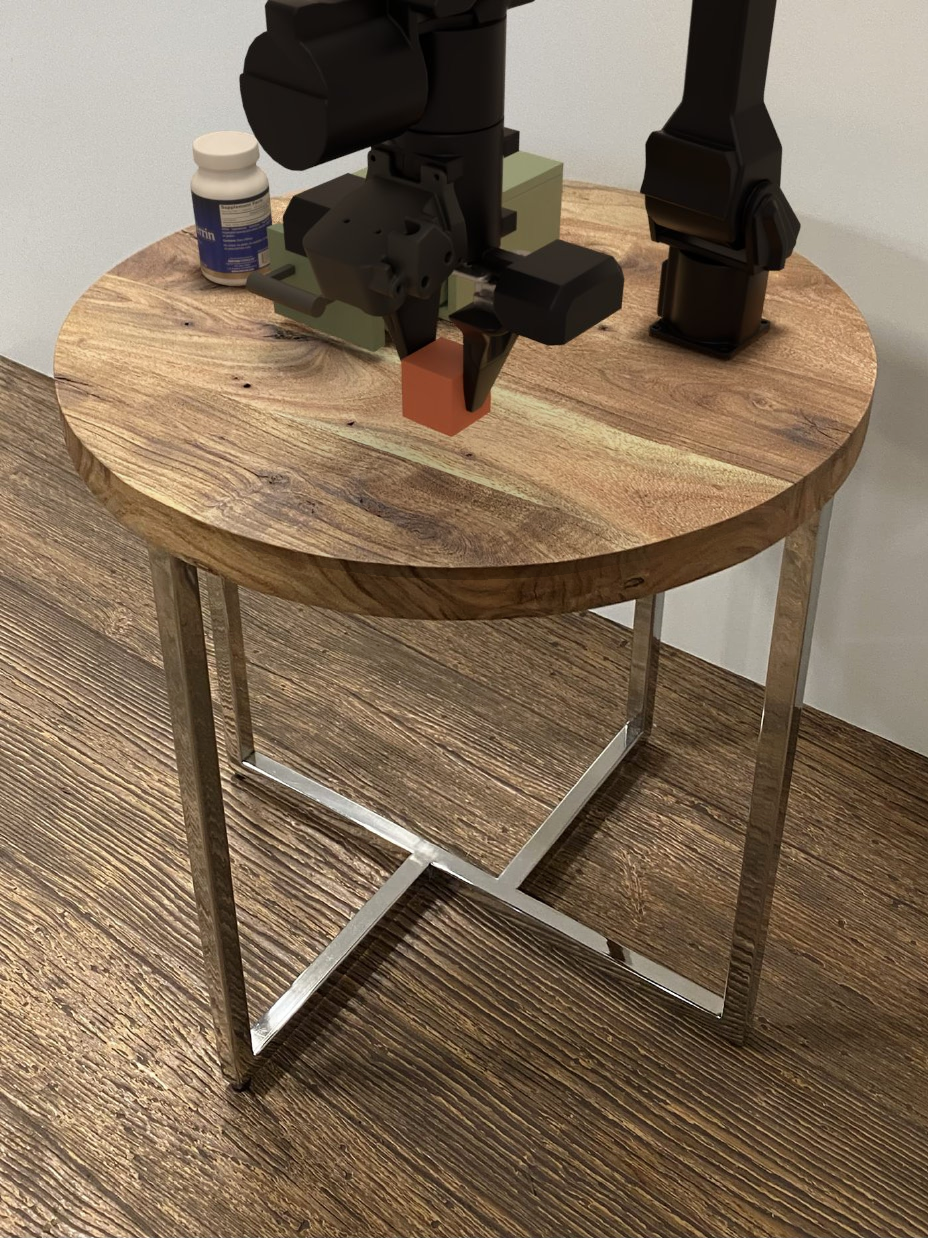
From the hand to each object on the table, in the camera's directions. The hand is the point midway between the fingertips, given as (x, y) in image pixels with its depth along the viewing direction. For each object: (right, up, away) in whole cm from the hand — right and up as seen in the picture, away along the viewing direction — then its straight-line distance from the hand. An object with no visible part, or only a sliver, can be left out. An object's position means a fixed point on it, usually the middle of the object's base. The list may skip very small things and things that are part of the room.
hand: (446, 398), depth 73 cm
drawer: (-6, +9, +19) cm, 22 cm away
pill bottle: (-16, +14, +27) cm, 34 cm away
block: (0, -1, +1) cm, 1 cm away
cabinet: (0, +14, +26) cm, 30 cm away
